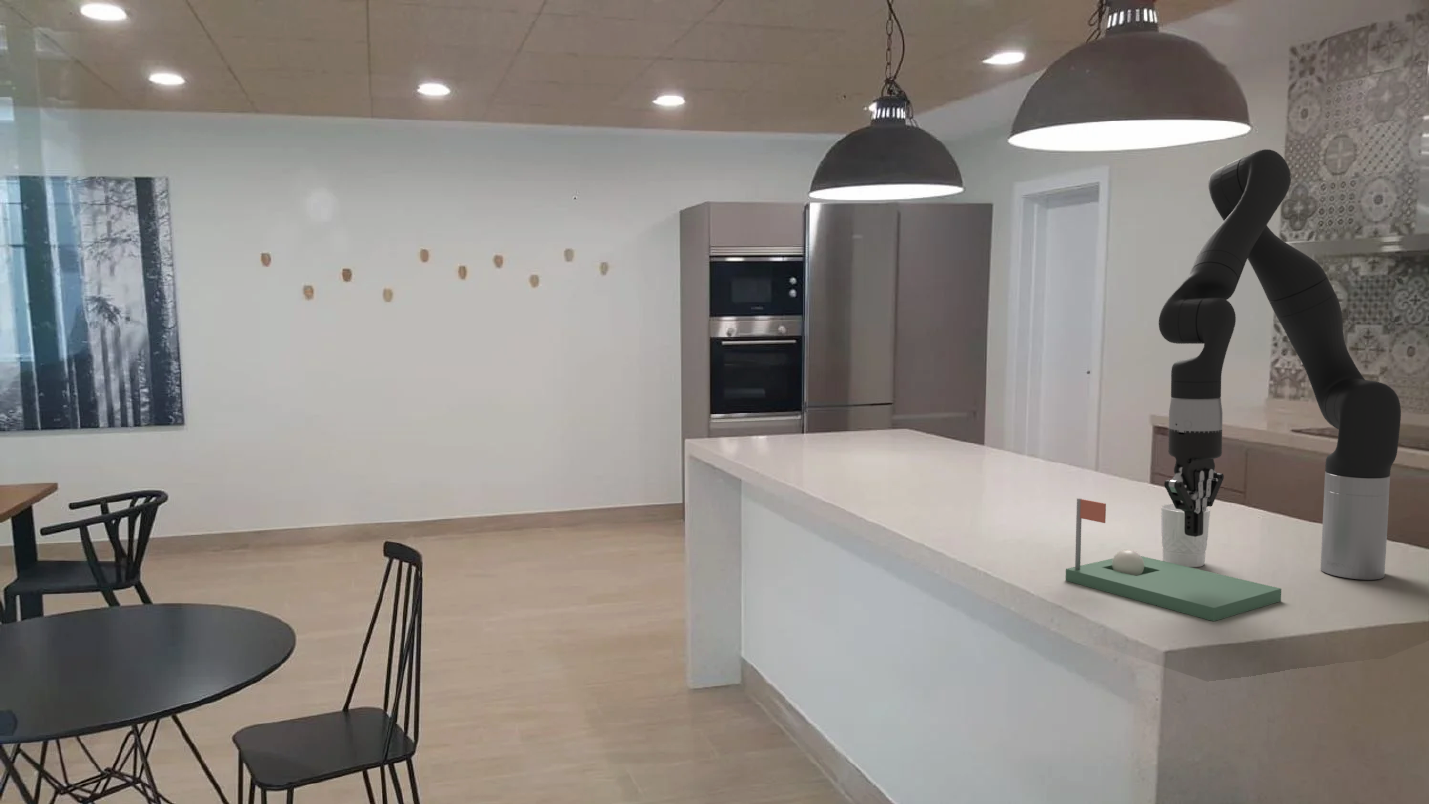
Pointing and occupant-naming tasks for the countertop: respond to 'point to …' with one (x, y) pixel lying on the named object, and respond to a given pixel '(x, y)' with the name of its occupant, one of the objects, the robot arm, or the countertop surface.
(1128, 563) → the ball
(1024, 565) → the countertop surface
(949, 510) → the countertop surface
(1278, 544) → the countertop surface
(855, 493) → the countertop surface
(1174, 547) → the white cup
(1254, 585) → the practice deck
